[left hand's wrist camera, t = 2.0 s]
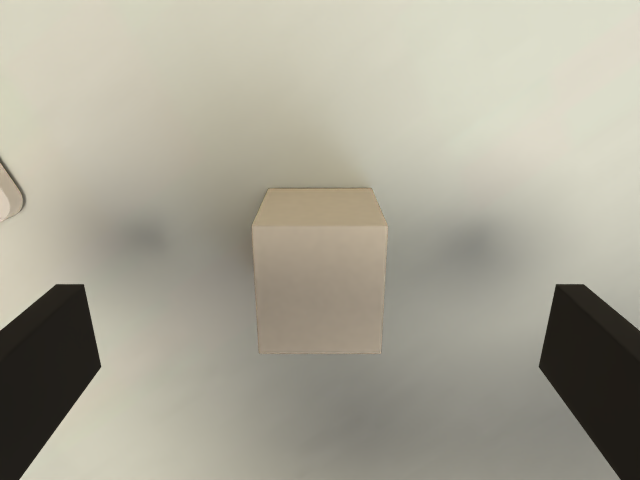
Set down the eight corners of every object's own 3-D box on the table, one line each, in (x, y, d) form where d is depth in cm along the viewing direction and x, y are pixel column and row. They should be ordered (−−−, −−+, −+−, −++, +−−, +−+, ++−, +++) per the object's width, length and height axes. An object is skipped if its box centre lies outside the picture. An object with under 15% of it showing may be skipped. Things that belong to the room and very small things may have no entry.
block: (372, 187, 19) (388, 225, 14) (368, 291, 21) (381, 354, 16) (267, 188, 19) (251, 225, 14) (272, 291, 21) (258, 354, 16)
